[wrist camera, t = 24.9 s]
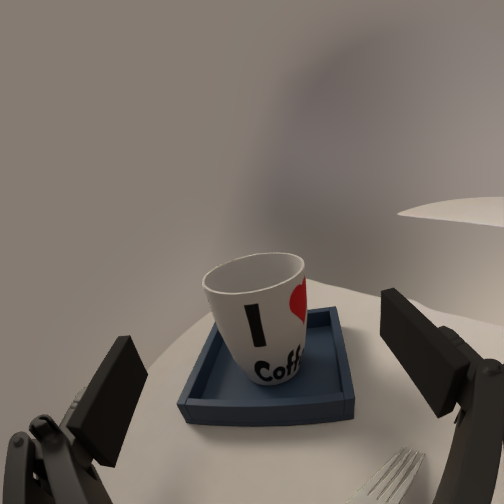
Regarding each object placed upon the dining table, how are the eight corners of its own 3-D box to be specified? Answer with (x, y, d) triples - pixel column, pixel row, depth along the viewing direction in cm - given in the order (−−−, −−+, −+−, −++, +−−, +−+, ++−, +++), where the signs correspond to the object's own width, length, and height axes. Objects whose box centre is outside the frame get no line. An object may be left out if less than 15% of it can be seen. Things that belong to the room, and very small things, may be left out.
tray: (186, 423, 20) (175, 403, 20) (221, 336, 33) (216, 318, 32) (353, 418, 18) (355, 397, 17) (337, 325, 31) (335, 305, 30)
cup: (255, 411, 20) (226, 306, 17) (217, 364, 27) (189, 274, 24) (333, 366, 23) (326, 264, 21) (284, 333, 31) (269, 246, 28)
